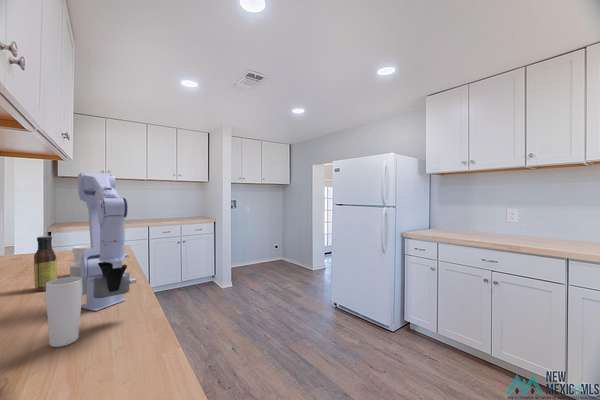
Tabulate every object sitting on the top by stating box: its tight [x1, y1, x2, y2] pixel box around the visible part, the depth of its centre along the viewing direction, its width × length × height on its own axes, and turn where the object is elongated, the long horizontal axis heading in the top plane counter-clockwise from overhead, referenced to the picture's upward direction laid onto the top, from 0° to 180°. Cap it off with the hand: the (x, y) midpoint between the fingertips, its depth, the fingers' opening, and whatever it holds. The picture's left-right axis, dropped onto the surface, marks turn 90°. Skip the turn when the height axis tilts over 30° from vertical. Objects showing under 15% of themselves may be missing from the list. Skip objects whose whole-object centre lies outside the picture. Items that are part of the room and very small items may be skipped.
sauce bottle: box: [33, 235, 58, 292], centre depth 102 cm, size 6×6×20 cm
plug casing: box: [93, 272, 137, 298], centre depth 77 cm, size 10×4×5 cm, turn 134°
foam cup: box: [72, 243, 91, 264], centre depth 120 cm, size 10×9×13 cm
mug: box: [69, 262, 87, 295], centre depth 101 cm, size 11×10×10 cm
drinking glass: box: [45, 276, 84, 348], centre depth 66 cm, size 7×7×15 cm
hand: (112, 288), depth 76 cm, fingers closed on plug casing, 4 cm apart
